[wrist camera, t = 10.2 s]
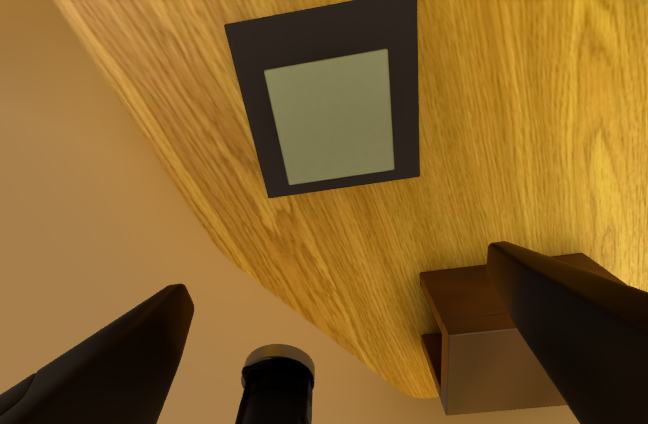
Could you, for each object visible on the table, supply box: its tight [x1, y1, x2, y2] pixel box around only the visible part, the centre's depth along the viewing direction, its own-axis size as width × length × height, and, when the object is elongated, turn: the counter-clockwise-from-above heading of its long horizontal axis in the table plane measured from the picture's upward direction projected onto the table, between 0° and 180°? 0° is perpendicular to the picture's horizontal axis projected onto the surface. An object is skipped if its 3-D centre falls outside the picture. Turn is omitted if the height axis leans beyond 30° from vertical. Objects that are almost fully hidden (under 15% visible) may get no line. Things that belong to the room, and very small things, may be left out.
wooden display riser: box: [420, 253, 627, 415], centre depth 22 cm, size 12×8×6 cm, turn 99°
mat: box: [224, 0, 420, 198], centre depth 18 cm, size 10×10×1 cm
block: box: [264, 49, 394, 185], centre depth 15 cm, size 5×5×5 cm
